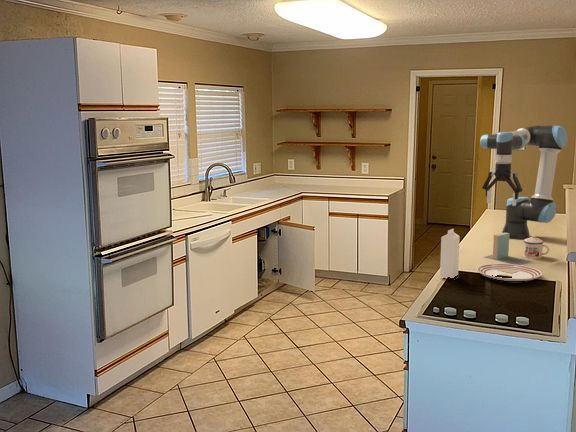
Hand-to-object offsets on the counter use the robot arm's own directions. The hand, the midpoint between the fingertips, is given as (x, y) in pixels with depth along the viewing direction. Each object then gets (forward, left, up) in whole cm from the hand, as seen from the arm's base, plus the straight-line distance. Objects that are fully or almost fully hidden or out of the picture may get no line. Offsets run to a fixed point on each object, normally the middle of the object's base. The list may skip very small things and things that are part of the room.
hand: (501, 204), depth 302 cm
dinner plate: (+45, +9, -26) cm, 53 cm away
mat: (+16, +6, -26) cm, 31 cm away
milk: (+57, -15, -26) cm, 64 cm away
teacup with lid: (+6, +18, -26) cm, 32 cm away
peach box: (+14, +2, -25) cm, 29 cm away
